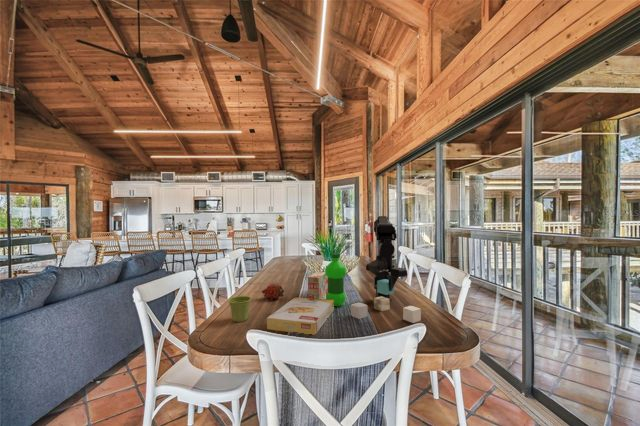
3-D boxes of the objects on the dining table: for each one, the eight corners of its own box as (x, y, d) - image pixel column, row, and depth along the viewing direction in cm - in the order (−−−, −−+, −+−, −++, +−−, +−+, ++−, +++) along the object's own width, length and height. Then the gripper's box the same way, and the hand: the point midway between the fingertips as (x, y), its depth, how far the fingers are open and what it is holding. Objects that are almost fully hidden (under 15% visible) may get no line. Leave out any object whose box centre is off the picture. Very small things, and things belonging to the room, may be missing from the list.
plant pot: (230, 325, 114) (230, 303, 114) (226, 318, 123) (226, 297, 123) (253, 321, 118) (253, 300, 119) (248, 314, 127) (248, 294, 127)
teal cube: (377, 292, 122) (377, 280, 122) (385, 290, 125) (385, 279, 125) (386, 294, 118) (385, 282, 118) (394, 293, 121) (394, 281, 121)
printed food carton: (321, 289, 168) (321, 268, 168) (331, 290, 166) (331, 269, 166) (307, 299, 148) (307, 276, 148) (319, 301, 146) (318, 277, 146)
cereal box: (334, 299, 131) (315, 321, 104) (334, 311, 131) (315, 336, 104) (293, 296, 137) (265, 316, 110) (293, 308, 137) (266, 331, 110)
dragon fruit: (285, 302, 148) (263, 305, 149) (286, 289, 155) (265, 292, 156) (281, 292, 144) (258, 295, 145) (282, 279, 151) (261, 282, 152)
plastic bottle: (331, 300, 146) (331, 252, 146) (350, 303, 141) (349, 253, 141) (321, 306, 138) (321, 254, 138) (340, 309, 132) (340, 255, 132)
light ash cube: (374, 308, 134) (374, 298, 134) (381, 306, 137) (381, 296, 137) (381, 311, 130) (381, 300, 130) (389, 309, 132) (389, 298, 132)
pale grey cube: (351, 315, 125) (351, 304, 125) (359, 313, 127) (359, 302, 127) (358, 319, 120) (358, 307, 120) (367, 316, 123) (367, 305, 123)
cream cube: (403, 319, 120) (403, 307, 120) (410, 317, 123) (410, 305, 123) (413, 323, 116) (413, 311, 116) (420, 320, 118) (420, 308, 118)
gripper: (356, 252, 125) (356, 287, 125) (389, 257, 110) (389, 298, 110) (374, 250, 131) (375, 284, 131) (408, 255, 116) (408, 293, 116)
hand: (385, 289), depth 122 cm, fingers closed on teal cube, 5 cm apart
